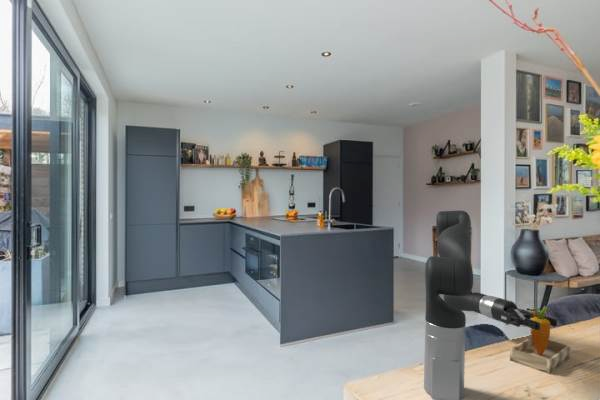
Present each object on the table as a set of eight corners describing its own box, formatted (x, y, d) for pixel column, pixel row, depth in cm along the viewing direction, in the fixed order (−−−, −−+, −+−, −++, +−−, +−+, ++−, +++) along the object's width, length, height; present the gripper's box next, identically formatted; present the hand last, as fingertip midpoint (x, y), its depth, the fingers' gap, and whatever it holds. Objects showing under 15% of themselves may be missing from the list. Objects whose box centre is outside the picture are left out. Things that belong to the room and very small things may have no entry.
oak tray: (549, 373, 97) (549, 361, 97) (510, 360, 104) (510, 348, 104) (570, 357, 107) (570, 345, 107) (533, 346, 115) (533, 335, 115)
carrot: (531, 356, 105) (531, 306, 105) (529, 350, 109) (530, 302, 109) (551, 360, 103) (552, 309, 103) (548, 354, 107) (549, 305, 107)
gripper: (483, 299, 116) (533, 315, 101) (511, 295, 122) (562, 309, 107) (482, 322, 116) (533, 340, 101) (511, 317, 122) (562, 334, 107)
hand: (548, 324), depth 104 cm, fingers open, 8 cm apart
